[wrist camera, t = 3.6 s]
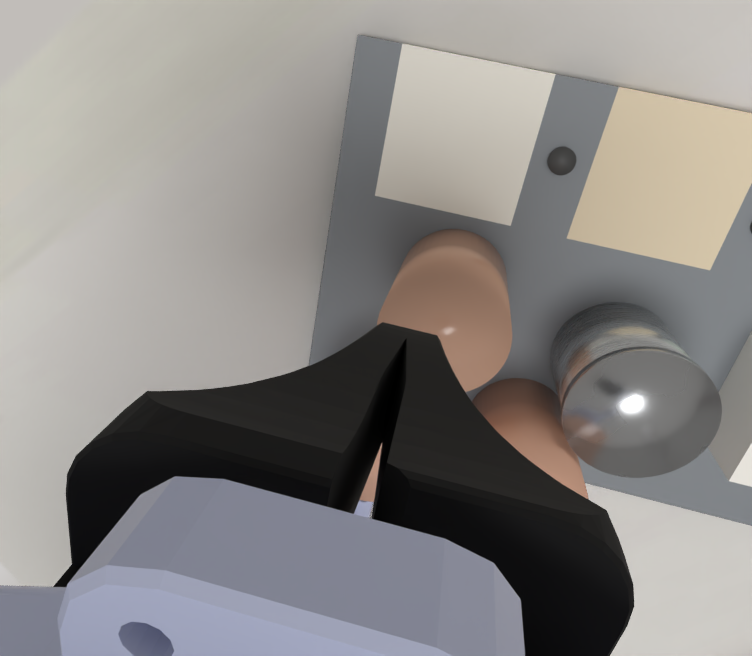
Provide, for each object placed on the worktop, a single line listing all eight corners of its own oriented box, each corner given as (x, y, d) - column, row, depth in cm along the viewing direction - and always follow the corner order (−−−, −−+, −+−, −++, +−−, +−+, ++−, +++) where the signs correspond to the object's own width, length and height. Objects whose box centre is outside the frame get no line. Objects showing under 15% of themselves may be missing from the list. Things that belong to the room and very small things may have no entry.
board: (803, 530, 23) (813, 544, 23) (306, 403, 25) (300, 412, 24) (1058, 174, 17) (1084, 179, 16) (361, 35, 18) (356, 34, 18)
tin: (647, 419, 22) (683, 492, 18) (532, 391, 22) (543, 457, 18) (697, 316, 20) (750, 373, 16) (569, 286, 20) (591, 336, 16)
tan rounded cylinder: (491, 339, 21) (492, 407, 17) (391, 316, 22) (367, 377, 17) (519, 241, 20) (528, 288, 15) (411, 218, 20) (389, 258, 16)
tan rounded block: (549, 469, 23) (565, 562, 19) (457, 446, 24) (452, 531, 19) (580, 391, 22) (607, 473, 17) (481, 367, 22) (482, 441, 18)
